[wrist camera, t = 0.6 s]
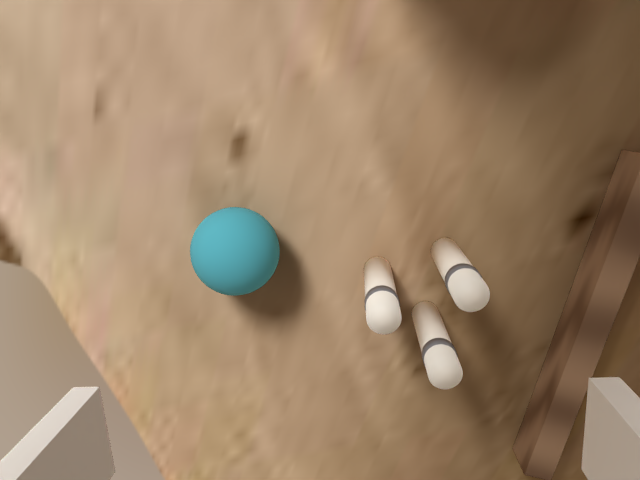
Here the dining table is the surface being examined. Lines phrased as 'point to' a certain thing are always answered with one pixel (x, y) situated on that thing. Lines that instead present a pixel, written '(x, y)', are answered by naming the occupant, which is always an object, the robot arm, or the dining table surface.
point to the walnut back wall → (584, 323)
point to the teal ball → (234, 251)
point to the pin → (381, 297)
